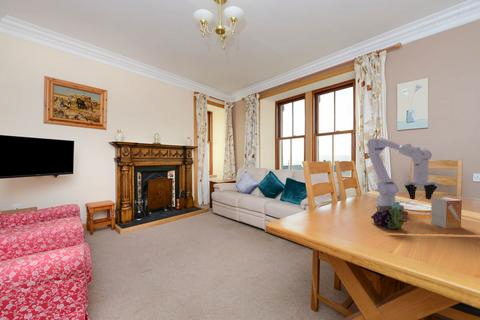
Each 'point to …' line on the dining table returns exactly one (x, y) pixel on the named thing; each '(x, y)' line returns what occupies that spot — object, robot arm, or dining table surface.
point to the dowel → (396, 205)
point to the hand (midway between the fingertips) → (420, 199)
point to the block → (402, 213)
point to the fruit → (389, 219)
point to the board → (382, 207)
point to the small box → (446, 212)
